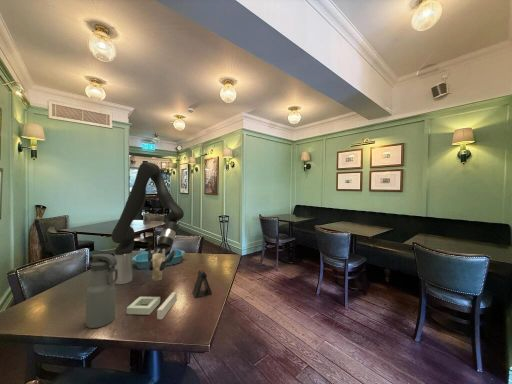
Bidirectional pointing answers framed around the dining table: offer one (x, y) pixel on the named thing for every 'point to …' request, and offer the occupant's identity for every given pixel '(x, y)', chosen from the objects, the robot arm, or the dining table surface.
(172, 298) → the backstop wall
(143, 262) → the casserole dish
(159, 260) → the dowel
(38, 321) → the dining table surface
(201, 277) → the phone stand
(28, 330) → the dining table surface
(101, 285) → the water bottle
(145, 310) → the pale green square frame
